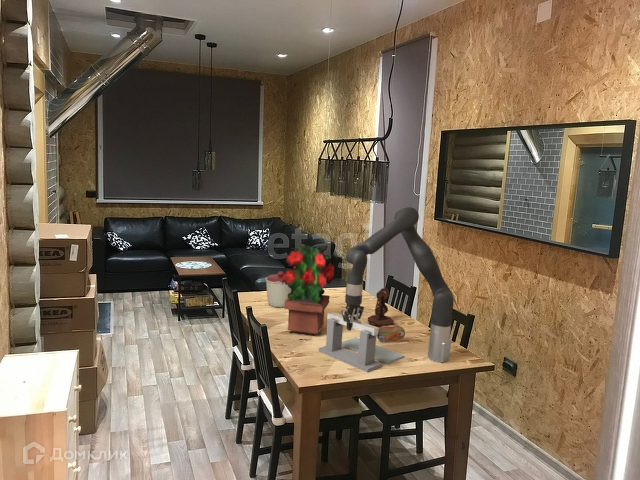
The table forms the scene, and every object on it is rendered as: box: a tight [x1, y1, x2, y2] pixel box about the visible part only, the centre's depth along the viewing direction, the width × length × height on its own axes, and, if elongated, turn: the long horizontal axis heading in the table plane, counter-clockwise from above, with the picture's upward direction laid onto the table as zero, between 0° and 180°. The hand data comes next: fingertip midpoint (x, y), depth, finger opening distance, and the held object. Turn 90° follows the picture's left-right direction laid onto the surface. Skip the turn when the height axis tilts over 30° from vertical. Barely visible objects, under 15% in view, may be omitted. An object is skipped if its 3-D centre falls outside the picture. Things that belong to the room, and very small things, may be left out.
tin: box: [376, 324, 406, 344], centre depth 264 cm, size 15×3×8 cm, turn 105°
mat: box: [341, 336, 405, 365], centre depth 250 cm, size 30×13×1 cm, turn 46°
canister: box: [265, 271, 291, 308], centre depth 312 cm, size 18×18×21 cm
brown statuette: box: [367, 287, 395, 327], centre depth 289 cm, size 15×15×20 cm
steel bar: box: [326, 311, 379, 336], centre depth 236 cm, size 28×3×3 cm, turn 46°
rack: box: [318, 318, 383, 373], centre depth 238 cm, size 30×10×16 cm, turn 46°
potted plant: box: [282, 243, 335, 337], centre depth 269 cm, size 22×22×45 cm
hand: (351, 329), depth 237 cm, fingers closed on steel bar, 3 cm apart
